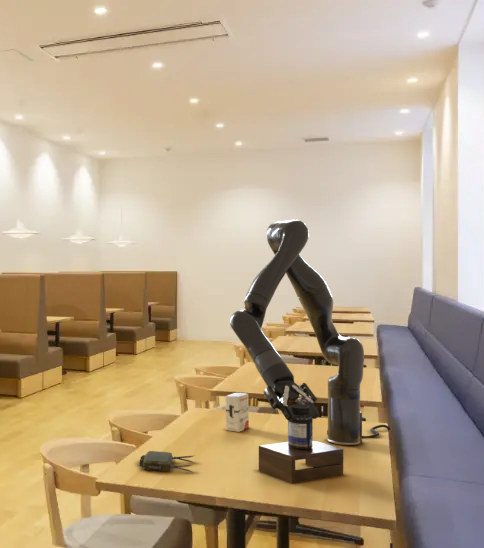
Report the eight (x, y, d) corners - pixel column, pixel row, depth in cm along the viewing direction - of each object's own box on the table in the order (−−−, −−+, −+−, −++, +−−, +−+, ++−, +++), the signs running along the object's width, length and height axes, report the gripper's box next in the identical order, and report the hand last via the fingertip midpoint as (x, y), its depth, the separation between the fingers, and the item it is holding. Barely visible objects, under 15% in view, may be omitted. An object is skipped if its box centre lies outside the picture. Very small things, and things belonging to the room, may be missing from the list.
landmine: (143, 448, 211) (196, 451, 207) (143, 457, 211) (196, 461, 207) (137, 460, 198) (194, 465, 194) (137, 470, 198) (194, 474, 194)
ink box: (235, 425, 252) (235, 391, 252) (249, 427, 249) (249, 393, 249) (225, 430, 245) (225, 395, 245) (239, 432, 242) (239, 396, 242)
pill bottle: (300, 443, 199) (300, 403, 199) (317, 448, 194) (317, 407, 193) (282, 445, 197) (283, 405, 197) (300, 451, 191) (300, 409, 191)
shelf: (308, 463, 204) (308, 439, 204) (343, 475, 193) (343, 449, 193) (258, 471, 197) (258, 445, 197) (291, 483, 186) (291, 456, 186)
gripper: (260, 363, 199) (291, 412, 188) (299, 360, 204) (332, 408, 194) (246, 379, 204) (276, 429, 193) (285, 376, 209) (316, 424, 199)
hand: (304, 418), depth 194 cm, fingers open, 8 cm apart
